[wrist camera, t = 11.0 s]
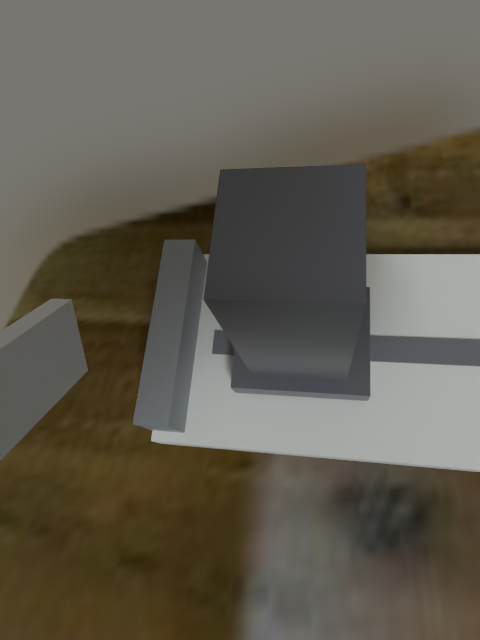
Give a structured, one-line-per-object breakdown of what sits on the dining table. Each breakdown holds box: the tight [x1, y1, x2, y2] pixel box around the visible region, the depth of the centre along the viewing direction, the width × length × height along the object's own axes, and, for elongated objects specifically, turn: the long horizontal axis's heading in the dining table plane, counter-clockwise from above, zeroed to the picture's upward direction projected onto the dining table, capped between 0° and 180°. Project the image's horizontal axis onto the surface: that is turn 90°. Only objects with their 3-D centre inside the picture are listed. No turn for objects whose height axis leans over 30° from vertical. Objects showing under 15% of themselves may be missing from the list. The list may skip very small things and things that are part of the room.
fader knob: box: [203, 164, 370, 401], centre depth 16 cm, size 6×5×10 cm
